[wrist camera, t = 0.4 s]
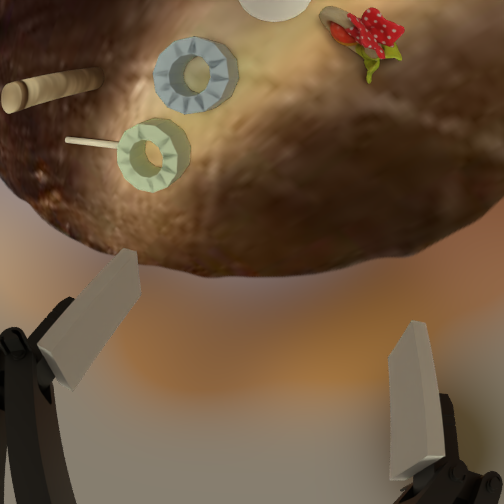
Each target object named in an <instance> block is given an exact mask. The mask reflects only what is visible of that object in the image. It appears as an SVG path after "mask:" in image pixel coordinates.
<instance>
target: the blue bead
mask: <svg viewBox="0 0 504 504" xmlns="http://www.w3.org/2000/svg"><path fill="white" fill-rule="evenodd" d="M196 56H200V57H202V58H203V59H204V60H205V61H206V63H207V64H208V65H209V69H210V76H211V78H210V80H209V83H208V85H207V88H206V89H205V90H203V91H202V92H201V93H200V94H199V93H196V92H194V91H191V90H190V89H189V88H188V86H187V85H186V84H185V82H184V75H183V72H184V70H185V67H186V64H187V63H188V62H189V61H190V60H191V59H193V58H194V57H196ZM153 78H154V85H155V91H156V93H157V95H158V96H159V97H160V99H161V100H162V101H163V102H164V104H165V105H166V106H167V107H168V108H170V109H173V110H175V111H178V112H180V113H183V114H191V113H198V112H205V111H208V110H210V109H213V108H216V107H217V106H219V105H220V104H221V103H223V102H224V101H225V100H227V99H228V98H229V97H231V96H232V93H233V91H234V89H235V87H236V84H237V82H238V80H239V74H238V66H237V59H236V58H235V57H234V56H233V54H232V53H231V52H230V51H229V49H228V48H227V47H226V46H225V45H223V44H220V43H217V42H214V41H211V40H208V39H205V38H200V37H195V36H194V37H190V38H185V39H181V40H177V41H174V42H173V43H172V44H171V45H169V46H168V47H167V48H166V49H165V50H164V51H163V52H162V53H161V54H160V55H159V57H158V60H157V63H156V66H155V68H154V71H153Z"/></svg>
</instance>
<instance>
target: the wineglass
mask: <svg viewBox="0 0 504 504" xmlns="http://www.w3.org/2000/svg"><path fill="white" fill-rule="evenodd" d="M239 2H240V4H241V5H242V7H243V9H244V10H245V11H247V12H248V13H249V14H250V15H251V16H253V17H255V18H258V19H260V20H263V21H269V22H279V21H286V20H289V19H291V18H294V17H296V16H298V15H299V14H300V13H302V12H303V11H304V10H305V9H306V8H307V6H308V5H309V3H310V2H311V0H239Z"/></svg>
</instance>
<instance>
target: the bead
mask: <svg viewBox="0 0 504 504" xmlns="http://www.w3.org/2000/svg"><path fill="white" fill-rule="evenodd" d="M147 140H148V141H151V142H153V143H154V144H155V145H156V146H158V147H159V149H160V152H161V154H162V156H163V165H162V168H160V167H155V166H154V165H153V164H152V163H151V162H149V161H148V158H147V156H146V154H145V143H146V141H147ZM190 152H191V146H190V144H189V141H188V139H187V137H186V135H185V132H184V130H182V129H181V128H180V127H179V126H177V125H176V124H175V123H173V122H172V121H171V120H166V119H158V118H153V119H150V120H147V121H145V122H142V123H139V124H137V125H136V126H134V127H132V128H130V129H128V130H127V131H125V132H124V134H123V136H122V138H121V140H120V141H119V143H118V145H117V163H118V165H119V167H120V170H121V172H122V174H123V176H124V178H125V179H126V180H127V181H128V182H129V183H131V184H132V185H133V186H134V187H135V188H137V189H138V190H143V191H147V192H152V193H154V192H156V191H159V190H161V189H164V188H167V187H168V186H170V185H171V184H172V183H173V182H175V181H176V180H177V179H178V178H180V177H181V175H182V174H183V172H184V171H185V170H186V168H187V167H188V165H189V164H190Z"/></svg>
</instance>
